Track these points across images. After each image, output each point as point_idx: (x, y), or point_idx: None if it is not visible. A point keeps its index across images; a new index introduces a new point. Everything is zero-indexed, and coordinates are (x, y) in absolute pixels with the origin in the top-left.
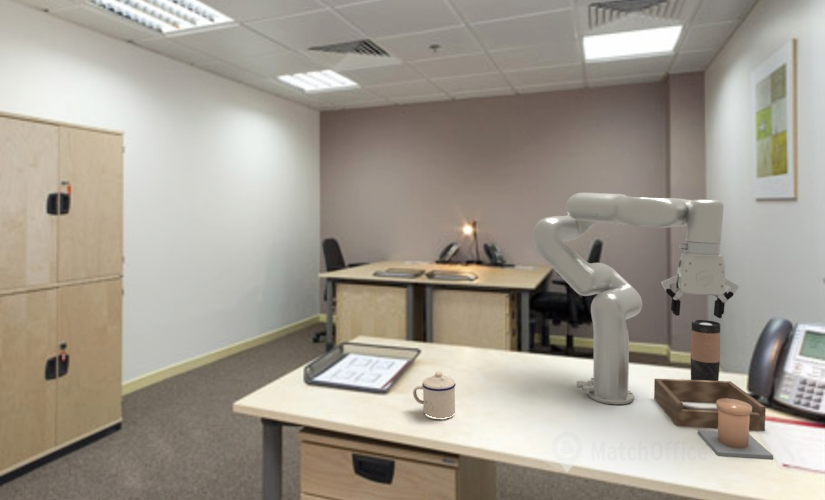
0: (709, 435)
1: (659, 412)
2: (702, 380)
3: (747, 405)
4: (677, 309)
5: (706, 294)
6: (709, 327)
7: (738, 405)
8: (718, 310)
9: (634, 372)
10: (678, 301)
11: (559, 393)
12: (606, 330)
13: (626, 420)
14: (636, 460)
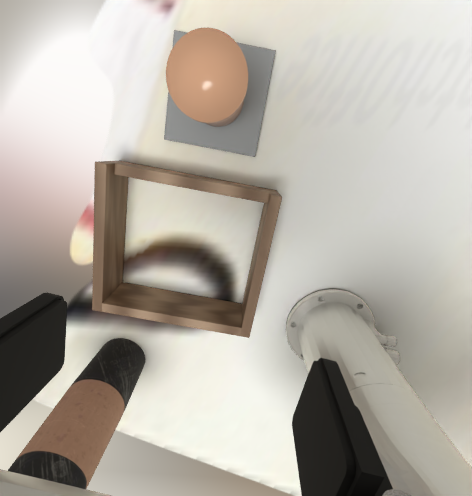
0: (246, 130)
1: (274, 252)
2: (150, 318)
3: (176, 63)
4: (346, 392)
5: (38, 485)
6: (39, 473)
7: (200, 66)
8: (26, 335)
9: (218, 425)
10: (372, 463)
11: (419, 348)
12: (455, 450)
13: (360, 221)
14: (451, 38)
